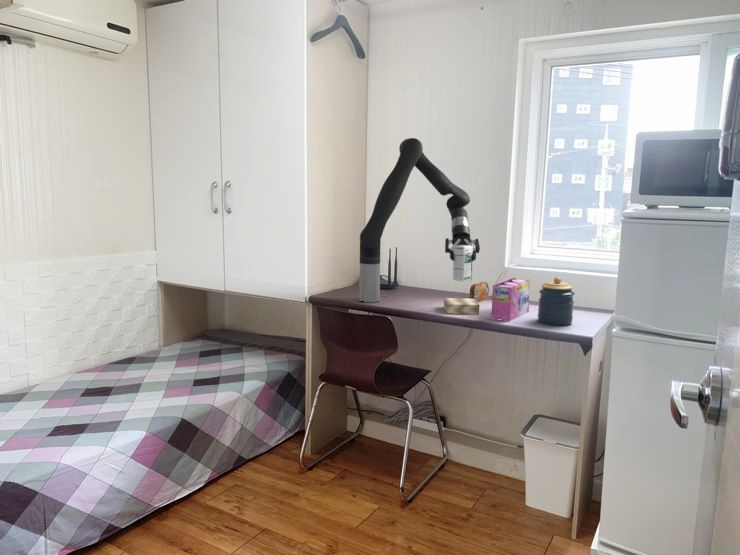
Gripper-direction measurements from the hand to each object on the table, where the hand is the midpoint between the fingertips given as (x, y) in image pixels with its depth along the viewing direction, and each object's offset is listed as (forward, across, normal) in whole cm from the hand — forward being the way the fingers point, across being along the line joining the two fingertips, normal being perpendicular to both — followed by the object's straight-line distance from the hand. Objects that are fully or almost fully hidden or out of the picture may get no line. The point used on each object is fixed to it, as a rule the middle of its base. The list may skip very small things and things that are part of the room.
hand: (463, 259), depth 228 cm
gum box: (+19, +19, +12) cm, 30 cm away
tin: (-1, +11, +32) cm, 34 cm away
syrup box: (+5, 0, +7) cm, 9 cm away
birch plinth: (+15, 0, +16) cm, 22 cm away
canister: (+27, +34, +4) cm, 43 cm away
